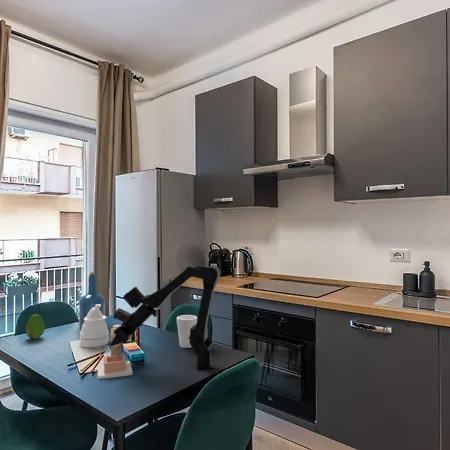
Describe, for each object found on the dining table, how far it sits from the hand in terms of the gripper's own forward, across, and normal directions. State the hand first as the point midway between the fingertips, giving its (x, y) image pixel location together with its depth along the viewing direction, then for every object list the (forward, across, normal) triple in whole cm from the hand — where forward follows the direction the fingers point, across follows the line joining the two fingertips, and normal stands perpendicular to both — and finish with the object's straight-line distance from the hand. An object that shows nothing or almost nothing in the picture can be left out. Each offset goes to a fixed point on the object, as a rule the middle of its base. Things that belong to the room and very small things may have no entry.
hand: (112, 343), depth 146 cm
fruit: (+38, -30, -28) cm, 56 cm away
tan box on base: (+3, +9, +8) cm, 12 cm away
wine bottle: (+24, -52, -14) cm, 59 cm away
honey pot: (+17, -24, -6) cm, 30 cm away
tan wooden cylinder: (+4, 0, +6) cm, 7 cm away
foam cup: (-14, -21, +25) cm, 36 cm away
